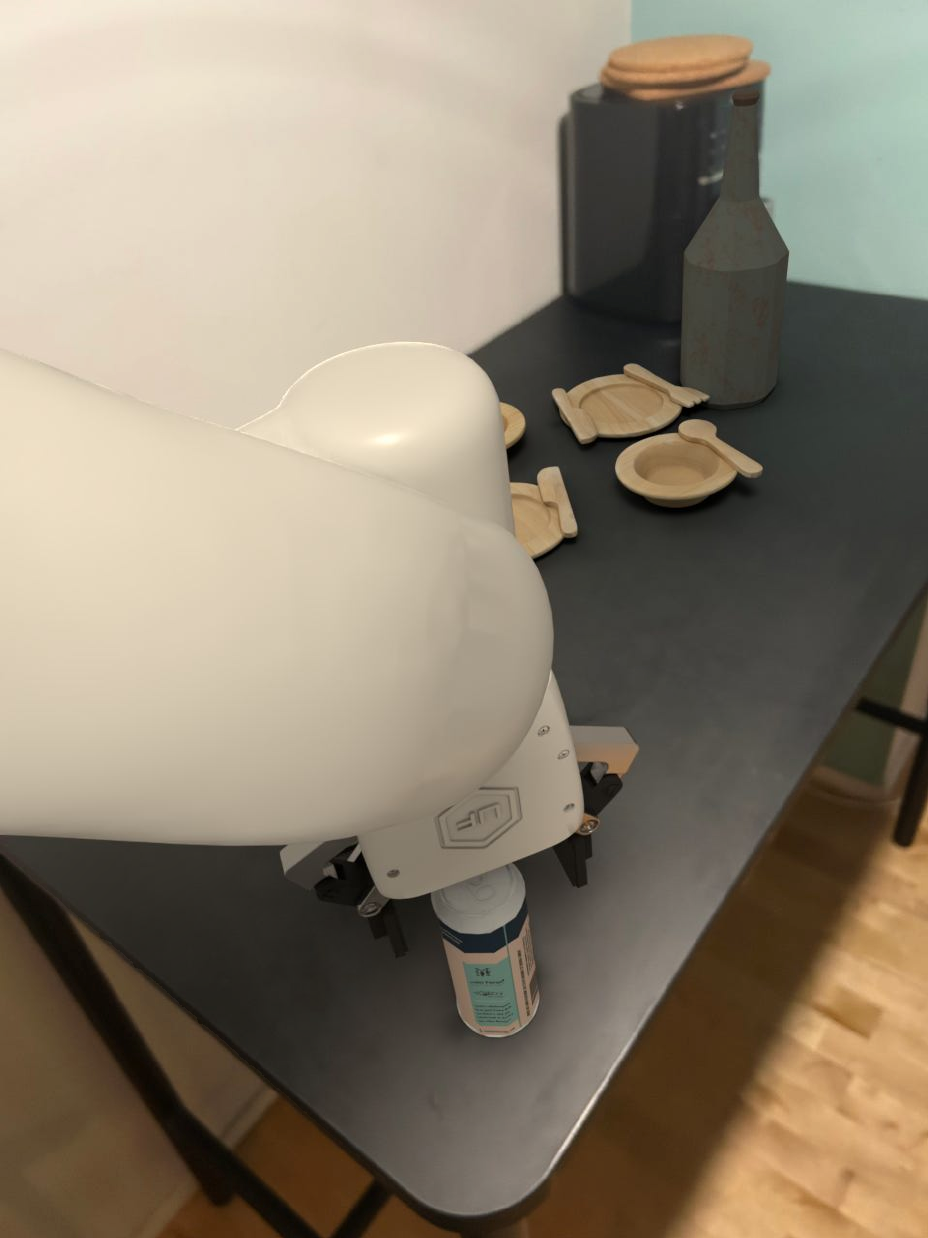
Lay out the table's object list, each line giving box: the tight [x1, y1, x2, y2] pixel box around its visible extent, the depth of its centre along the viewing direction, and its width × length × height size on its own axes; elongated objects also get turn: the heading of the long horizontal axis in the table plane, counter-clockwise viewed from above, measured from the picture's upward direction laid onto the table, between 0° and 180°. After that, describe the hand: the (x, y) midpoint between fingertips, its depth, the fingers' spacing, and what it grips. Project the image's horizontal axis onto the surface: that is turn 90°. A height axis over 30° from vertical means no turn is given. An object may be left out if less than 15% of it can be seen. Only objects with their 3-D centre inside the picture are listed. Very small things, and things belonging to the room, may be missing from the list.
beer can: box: [430, 862, 540, 1038], centre depth 52 cm, size 5×5×12 cm
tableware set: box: [499, 363, 764, 560], centre depth 97 cm, size 35×29×4 cm
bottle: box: [679, 88, 790, 411], centre depth 97 cm, size 10×10×30 cm
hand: (483, 898), depth 49 cm, fingers open, 9 cm apart
